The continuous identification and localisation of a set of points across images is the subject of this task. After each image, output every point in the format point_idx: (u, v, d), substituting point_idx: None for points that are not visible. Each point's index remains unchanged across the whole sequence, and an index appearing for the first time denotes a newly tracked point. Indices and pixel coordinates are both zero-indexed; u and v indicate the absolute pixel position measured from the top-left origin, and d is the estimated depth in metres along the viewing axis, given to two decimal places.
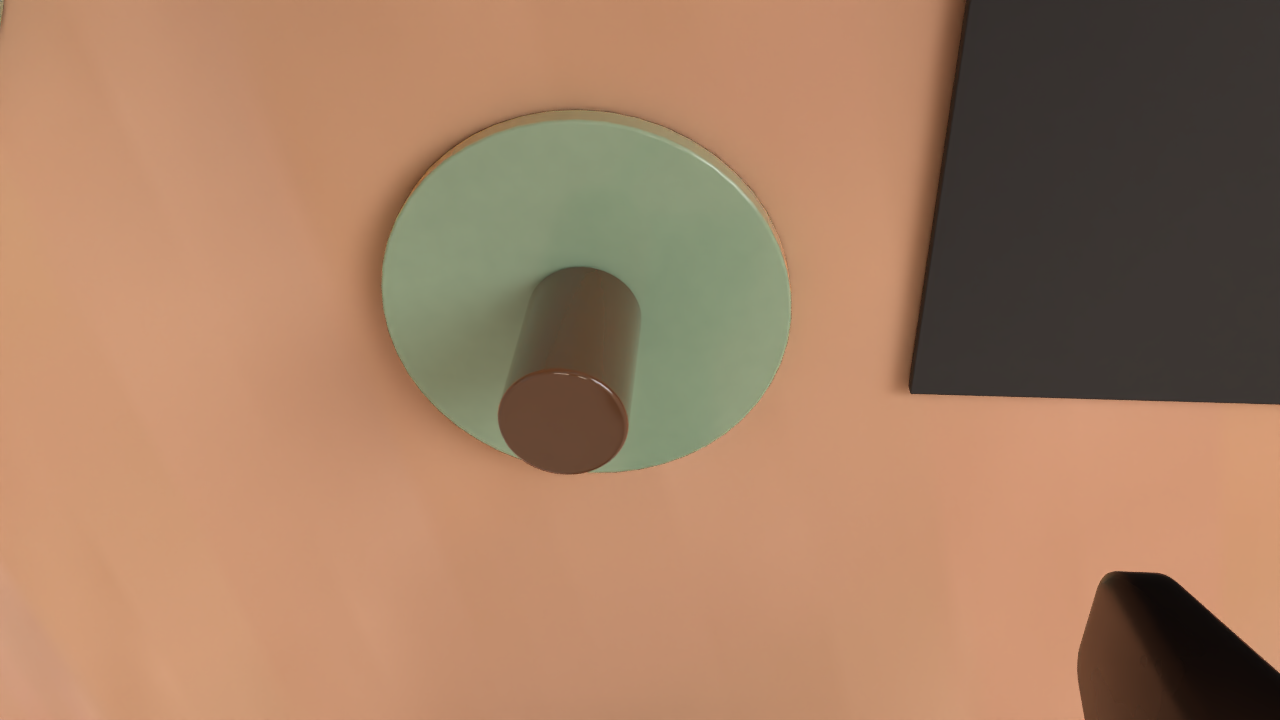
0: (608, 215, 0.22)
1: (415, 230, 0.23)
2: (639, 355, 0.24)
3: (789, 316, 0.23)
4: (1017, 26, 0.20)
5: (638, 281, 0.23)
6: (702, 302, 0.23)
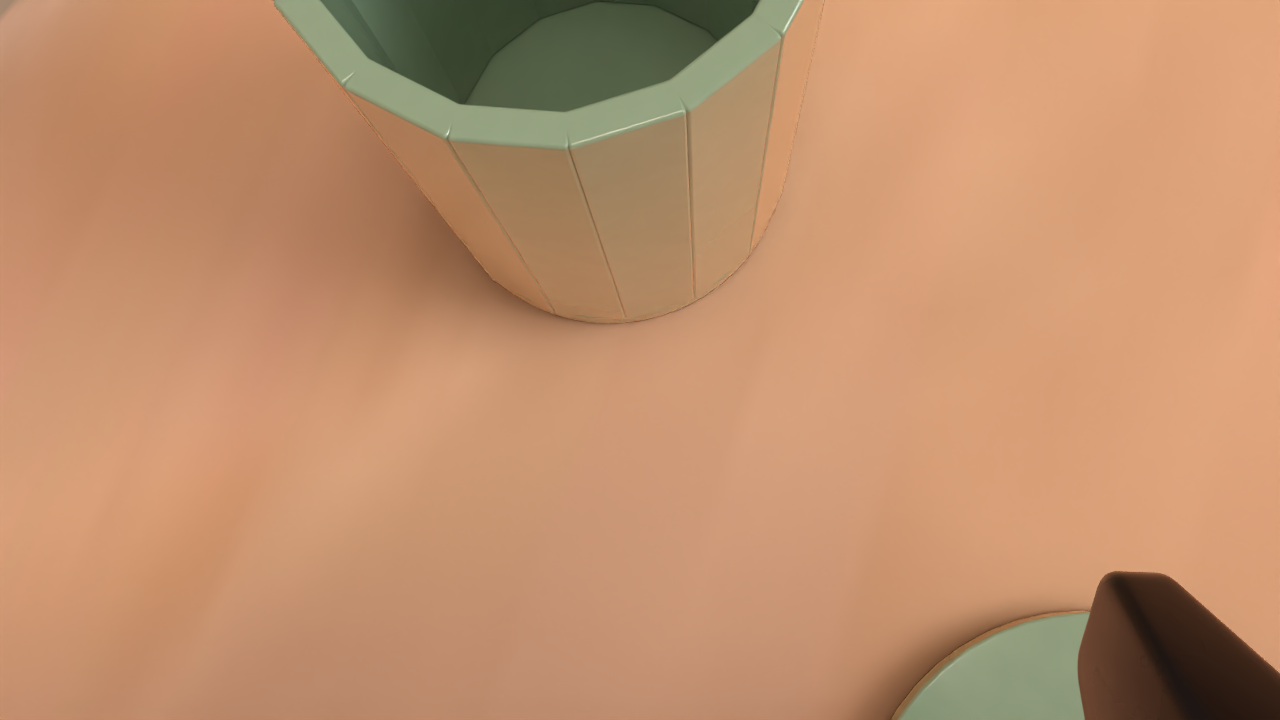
0: None
1: (981, 670, 0.20)
2: None
3: None
4: None
5: None
6: None
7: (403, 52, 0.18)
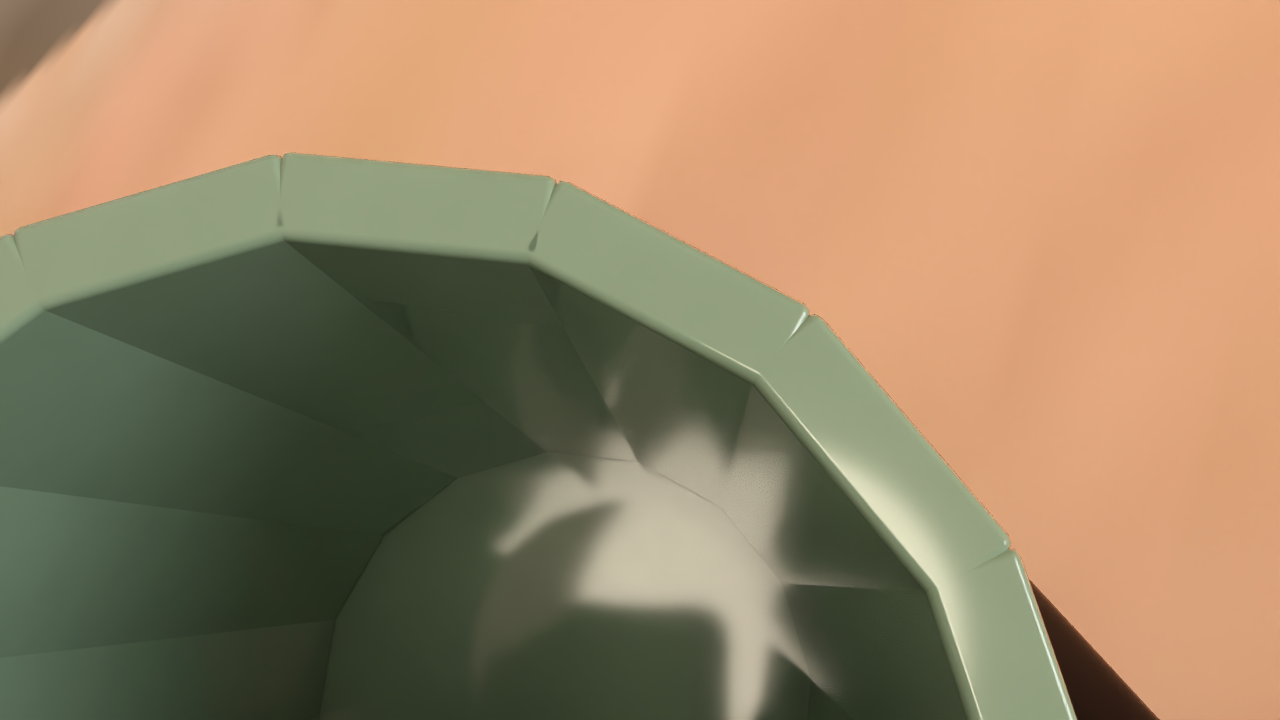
0: None
1: None
2: None
3: None
4: None
5: None
6: None
7: None
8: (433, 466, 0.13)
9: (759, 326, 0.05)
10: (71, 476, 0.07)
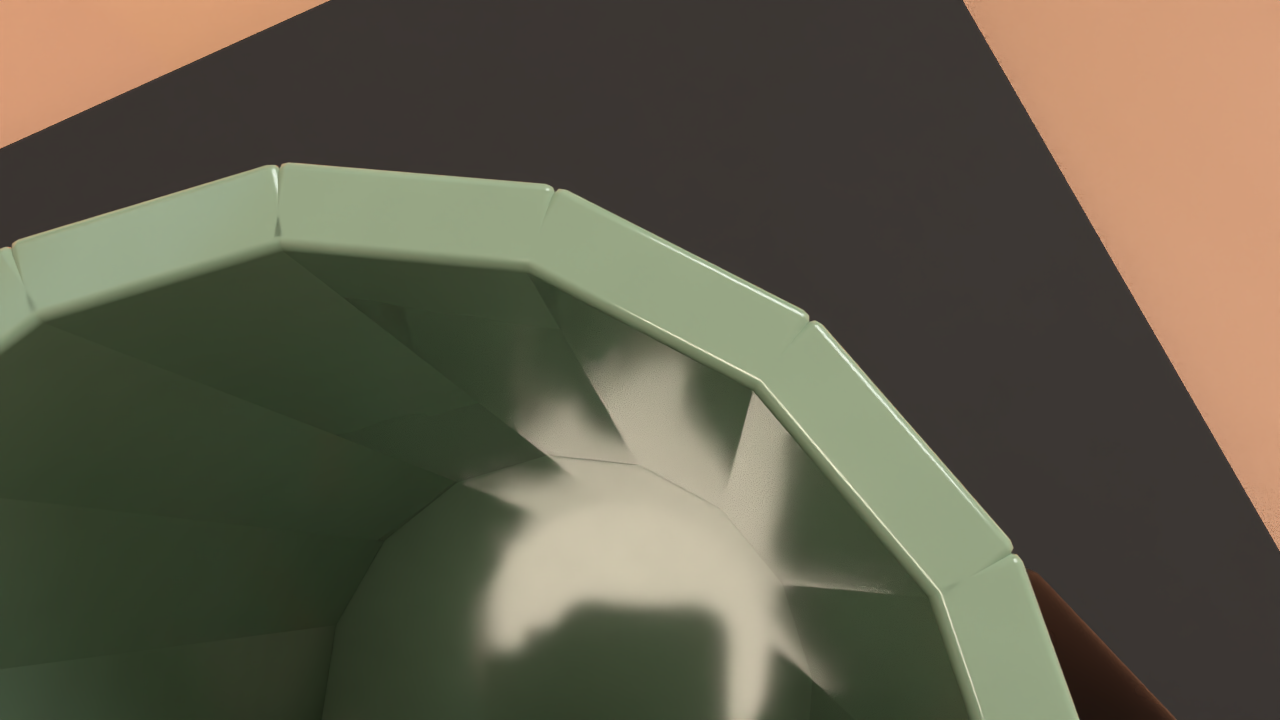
0: None
1: None
2: None
3: None
4: None
5: None
6: None
7: None
8: (433, 471, 0.13)
9: (759, 332, 0.05)
10: (71, 487, 0.07)
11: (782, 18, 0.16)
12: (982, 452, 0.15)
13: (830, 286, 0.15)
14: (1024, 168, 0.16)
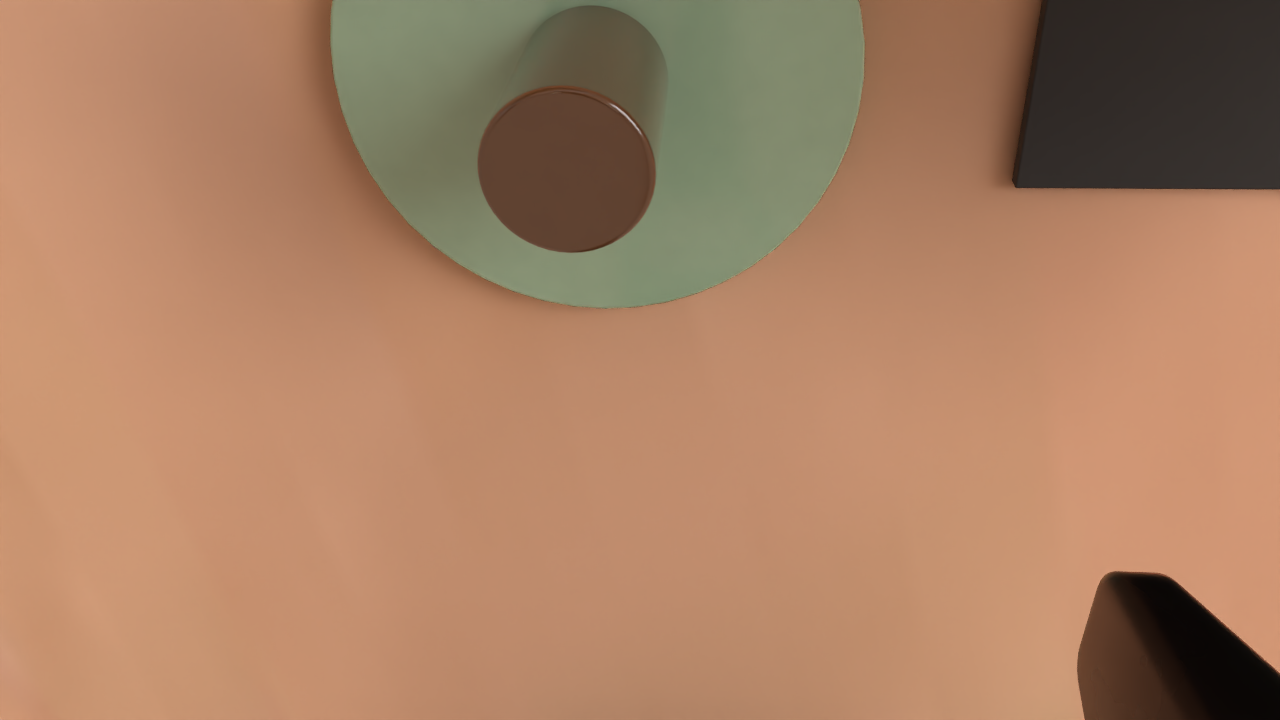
0: None
1: None
2: (665, 137, 0.19)
3: (862, 73, 0.18)
4: None
5: (663, 27, 0.18)
6: (748, 54, 0.18)
7: None
8: None
9: None
10: None
11: None
12: None
13: None
14: None
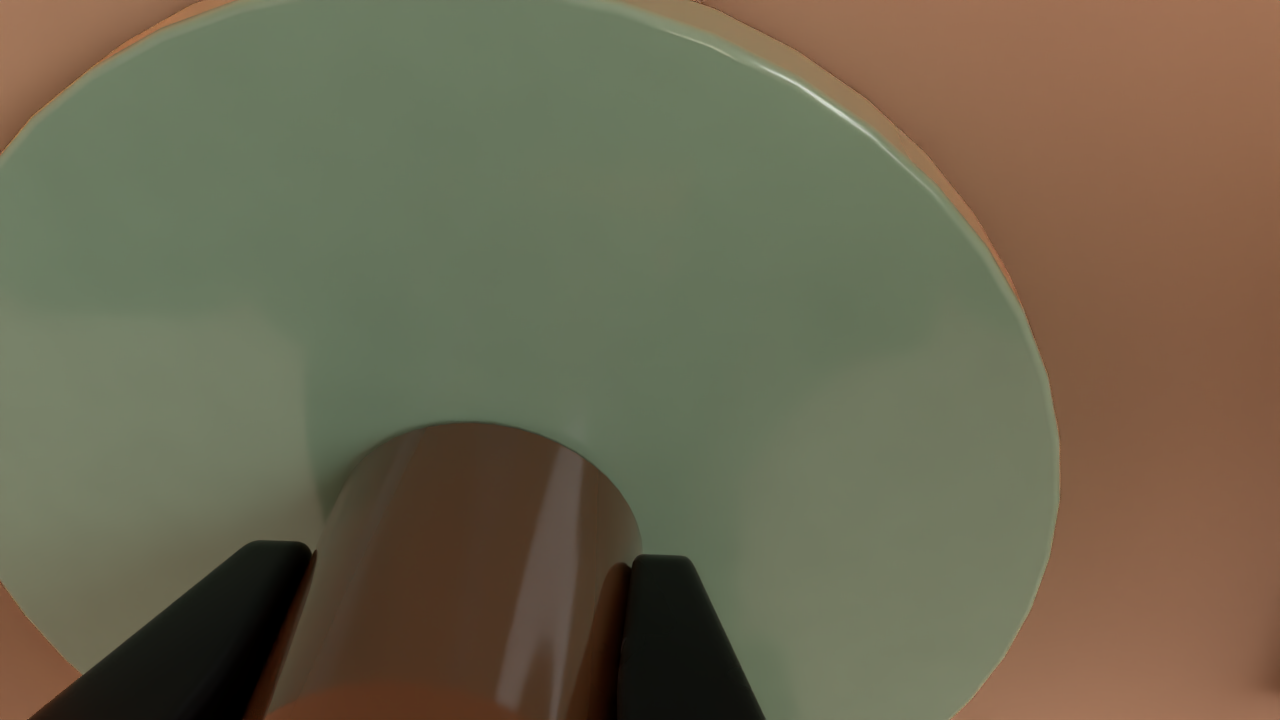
0: (544, 282, 0.07)
1: None
2: None
3: (1047, 549, 0.09)
4: None
5: (631, 461, 0.08)
6: (811, 512, 0.08)
7: None
8: None
9: None
10: None
11: None
12: None
13: None
14: None
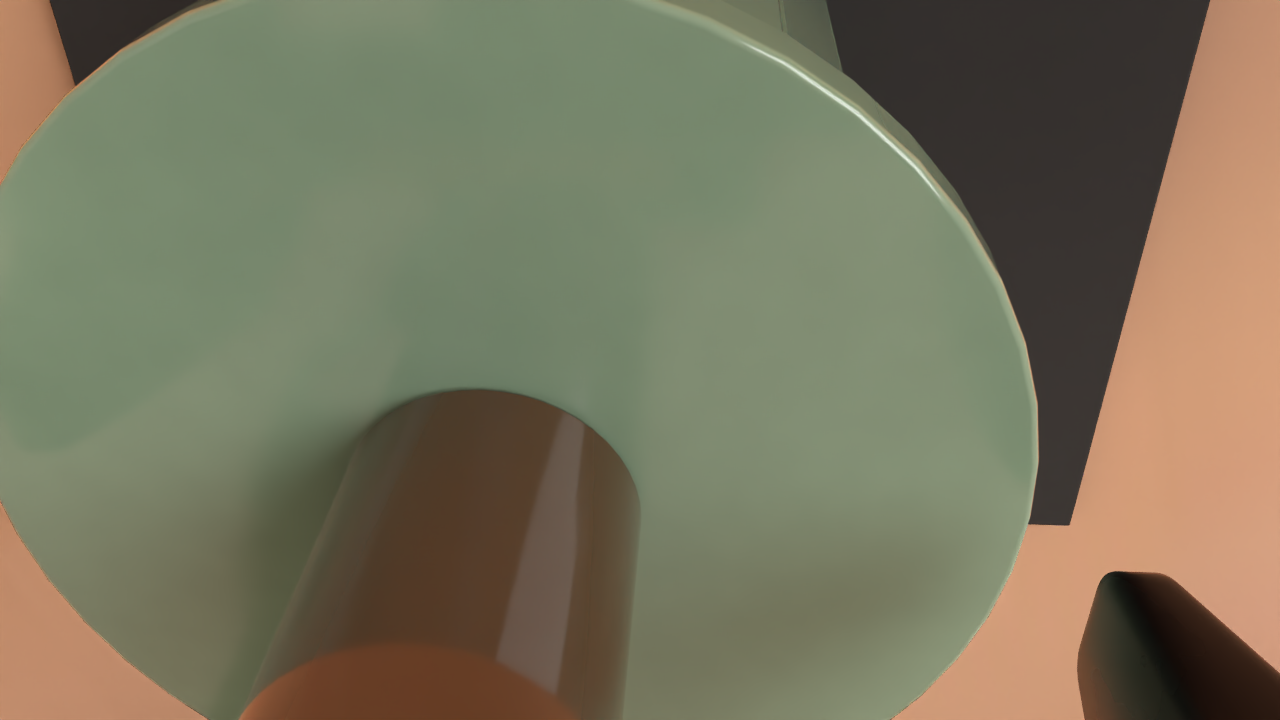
0: (548, 253, 0.08)
1: (24, 293, 0.08)
2: (636, 594, 0.10)
3: (1027, 512, 0.09)
4: None
5: (632, 427, 0.09)
6: (802, 477, 0.09)
7: None
8: None
9: None
10: None
11: None
12: (1013, 31, 0.17)
13: None
14: None
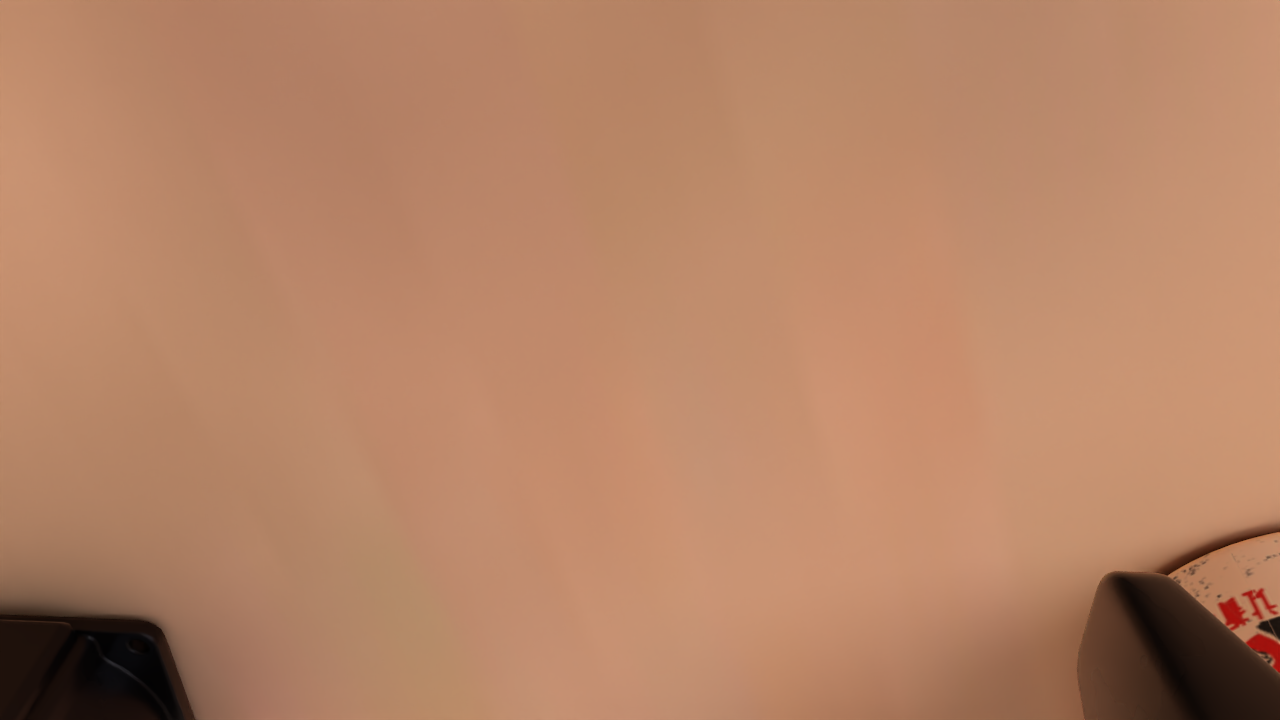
0: None
1: None
2: None
3: None
4: None
5: None
6: None
7: None
8: None
9: None
10: None
11: None
12: None
13: None
14: None
